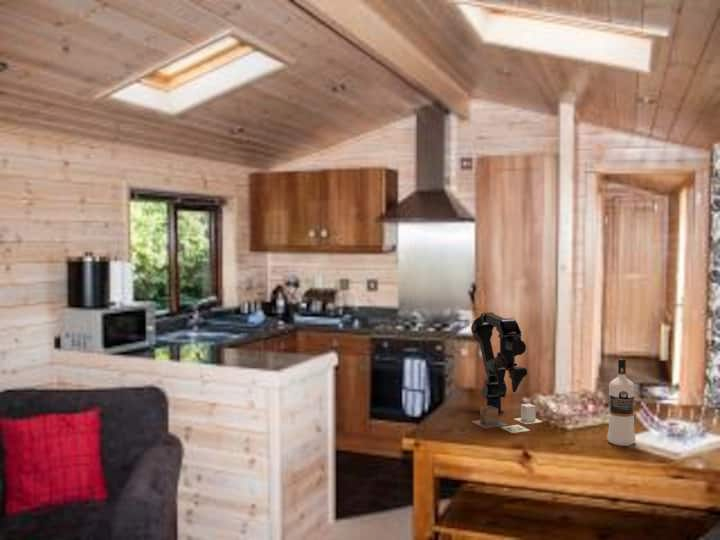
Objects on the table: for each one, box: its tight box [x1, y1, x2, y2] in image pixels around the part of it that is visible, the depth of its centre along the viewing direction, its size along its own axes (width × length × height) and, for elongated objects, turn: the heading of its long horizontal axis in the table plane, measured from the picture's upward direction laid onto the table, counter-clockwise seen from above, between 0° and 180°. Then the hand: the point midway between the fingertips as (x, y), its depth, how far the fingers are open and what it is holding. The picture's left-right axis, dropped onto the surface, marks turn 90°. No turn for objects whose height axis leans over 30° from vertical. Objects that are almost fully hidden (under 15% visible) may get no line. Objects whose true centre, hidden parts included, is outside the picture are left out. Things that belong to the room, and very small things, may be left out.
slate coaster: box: [471, 419, 508, 429], centre depth 259 cm, size 10×10×1 cm
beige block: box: [520, 403, 537, 422], centre depth 262 cm, size 4×4×6 cm
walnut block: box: [479, 405, 499, 426], centre depth 259 cm, size 5×5×6 cm
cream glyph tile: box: [500, 424, 531, 434], centre depth 252 cm, size 8×8×1 cm
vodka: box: [606, 357, 636, 447], centre depth 234 cm, size 9×9×30 cm
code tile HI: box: [514, 417, 543, 425], centre depth 262 cm, size 8×8×1 cm
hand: (507, 389), depth 263 cm, fingers open, 9 cm apart
